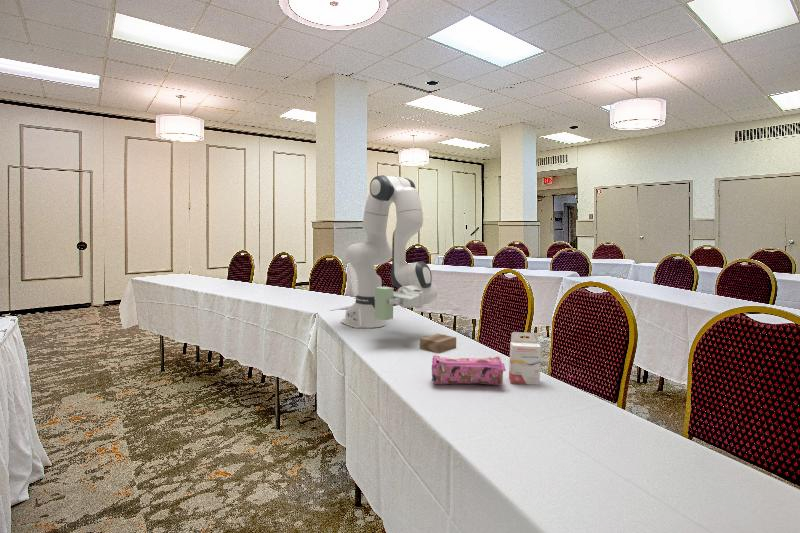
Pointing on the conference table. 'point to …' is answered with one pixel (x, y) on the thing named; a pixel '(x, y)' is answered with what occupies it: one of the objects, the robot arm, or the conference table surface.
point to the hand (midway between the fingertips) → (382, 300)
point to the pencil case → (467, 370)
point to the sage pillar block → (383, 303)
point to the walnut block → (437, 343)
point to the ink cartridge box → (524, 358)
